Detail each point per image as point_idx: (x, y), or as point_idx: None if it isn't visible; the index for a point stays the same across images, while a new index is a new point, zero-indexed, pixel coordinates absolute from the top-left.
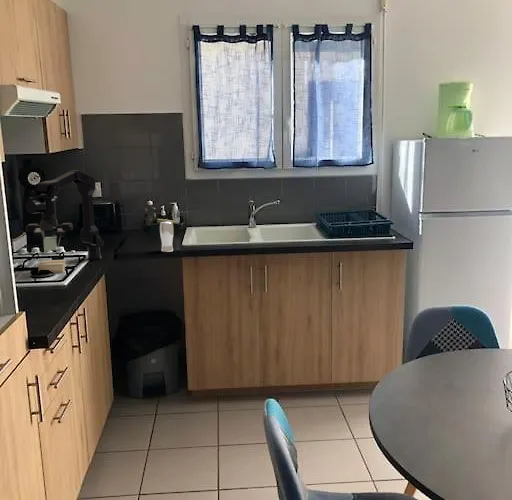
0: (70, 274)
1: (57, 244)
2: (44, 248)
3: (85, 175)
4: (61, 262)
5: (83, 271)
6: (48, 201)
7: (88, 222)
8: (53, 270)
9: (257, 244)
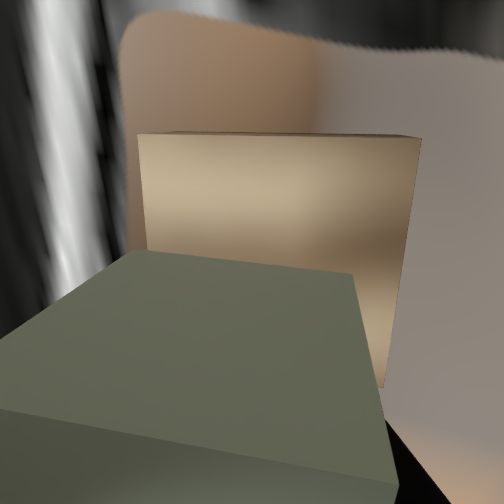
0: (87, 13)
1: None
2: (346, 287)
3: None
4: (167, 236)
5: (10, 130)
6: None
7: None
8: (252, 133)
9: None
